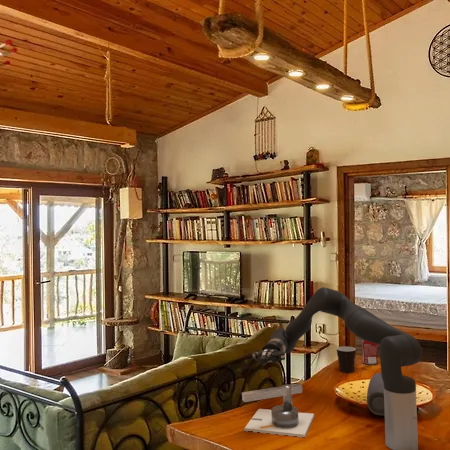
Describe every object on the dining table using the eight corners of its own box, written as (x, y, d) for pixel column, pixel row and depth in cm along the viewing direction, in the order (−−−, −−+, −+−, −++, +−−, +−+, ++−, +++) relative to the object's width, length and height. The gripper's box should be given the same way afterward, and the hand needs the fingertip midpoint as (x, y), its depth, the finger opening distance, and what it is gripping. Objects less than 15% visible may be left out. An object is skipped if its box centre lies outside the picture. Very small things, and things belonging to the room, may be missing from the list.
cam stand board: (314, 416, 178) (313, 413, 178) (304, 437, 161) (304, 434, 161) (259, 411, 184) (258, 408, 184) (244, 431, 167) (244, 427, 167)
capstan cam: (295, 414, 176) (294, 379, 176) (308, 423, 168) (306, 387, 168) (239, 424, 169) (238, 388, 169) (249, 434, 161) (248, 397, 161)
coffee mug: (342, 367, 236) (341, 345, 236) (359, 370, 231) (359, 348, 231) (330, 373, 227) (329, 351, 227) (348, 376, 222) (347, 353, 222)
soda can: (378, 365, 237) (377, 339, 237) (363, 365, 238) (362, 339, 238) (377, 361, 243) (376, 336, 243) (362, 361, 245) (361, 336, 245)
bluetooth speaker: (394, 420, 172) (393, 391, 172) (366, 418, 175) (365, 389, 175) (394, 398, 194) (394, 372, 194) (369, 396, 197) (368, 370, 197)
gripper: (257, 339, 198) (244, 350, 182) (290, 340, 194) (280, 351, 177) (258, 358, 198) (245, 371, 182) (291, 360, 194) (281, 373, 177)
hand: (262, 361), depth 179 cm, fingers closed
